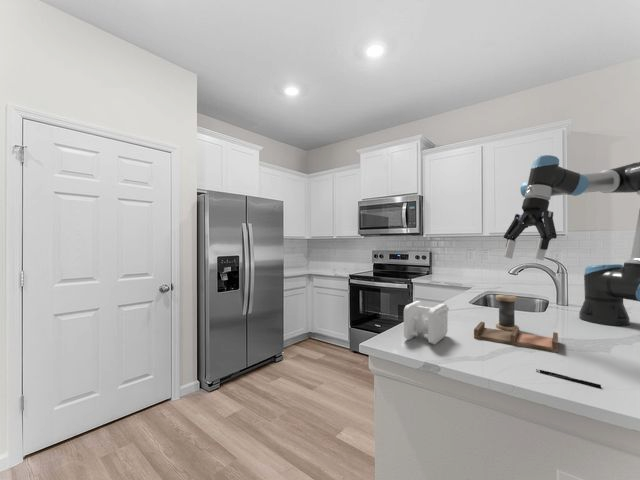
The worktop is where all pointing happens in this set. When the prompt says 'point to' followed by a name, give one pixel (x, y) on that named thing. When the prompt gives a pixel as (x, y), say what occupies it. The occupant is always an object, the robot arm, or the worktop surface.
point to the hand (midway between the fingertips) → (522, 258)
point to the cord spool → (506, 312)
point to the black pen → (570, 378)
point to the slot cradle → (517, 338)
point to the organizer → (425, 321)
